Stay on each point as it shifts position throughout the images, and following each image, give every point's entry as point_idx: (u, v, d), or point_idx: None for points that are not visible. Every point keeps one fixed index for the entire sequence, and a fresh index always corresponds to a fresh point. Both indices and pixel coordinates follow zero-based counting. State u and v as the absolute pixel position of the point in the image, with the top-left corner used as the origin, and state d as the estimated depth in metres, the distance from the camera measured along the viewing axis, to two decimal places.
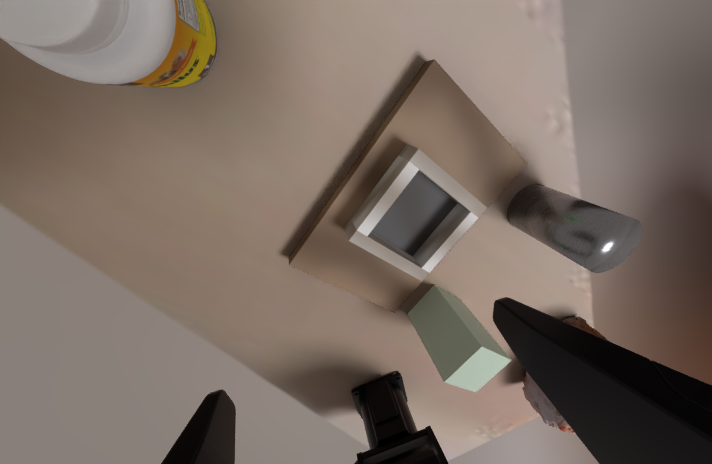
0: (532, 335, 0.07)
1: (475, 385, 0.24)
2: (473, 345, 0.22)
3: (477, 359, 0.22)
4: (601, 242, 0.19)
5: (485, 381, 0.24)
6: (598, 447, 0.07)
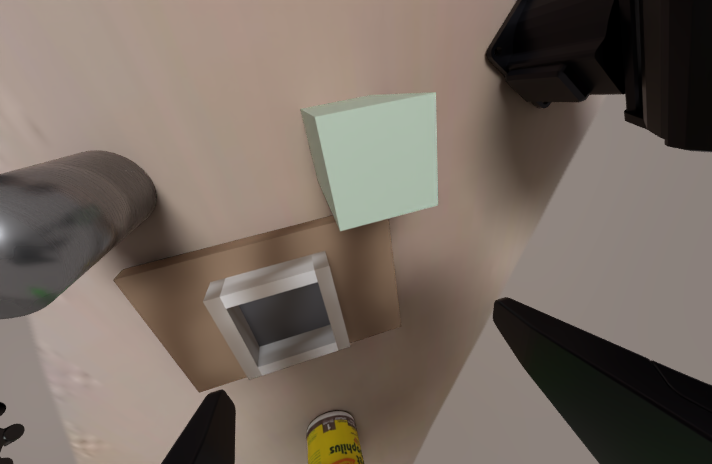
0: (532, 335, 0.07)
1: (418, 122, 0.10)
2: None
3: (365, 204, 0.11)
4: (21, 296, 0.09)
5: (398, 108, 0.10)
6: (598, 447, 0.07)
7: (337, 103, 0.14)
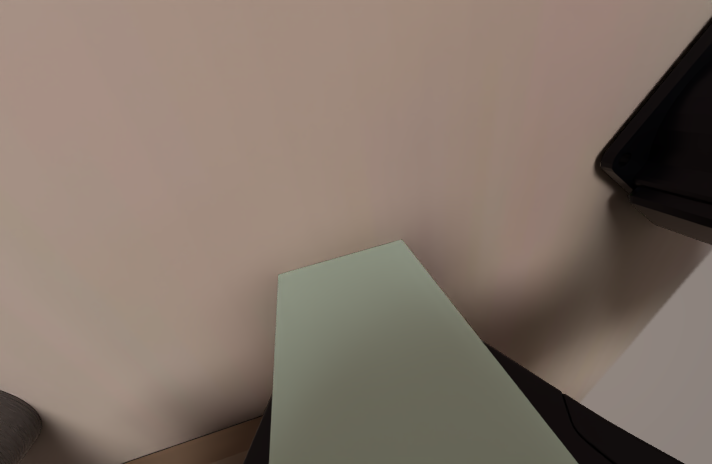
0: None
1: None
2: None
3: None
4: None
5: None
6: None
7: (343, 299, 0.08)
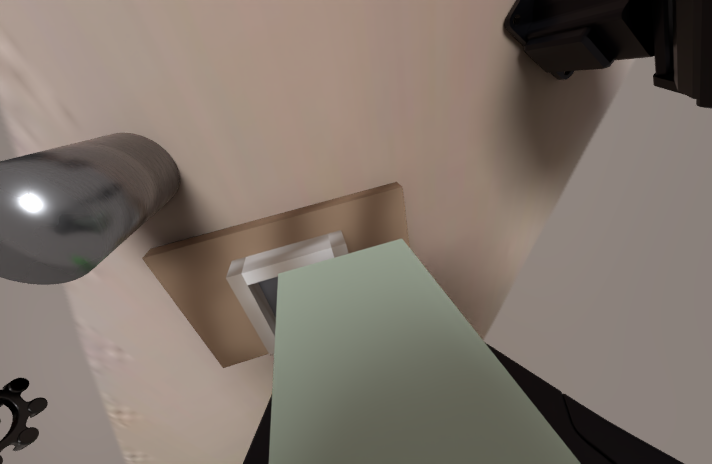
0: None
1: None
2: None
3: None
4: (66, 263, 0.10)
5: None
6: None
7: (343, 298, 0.08)
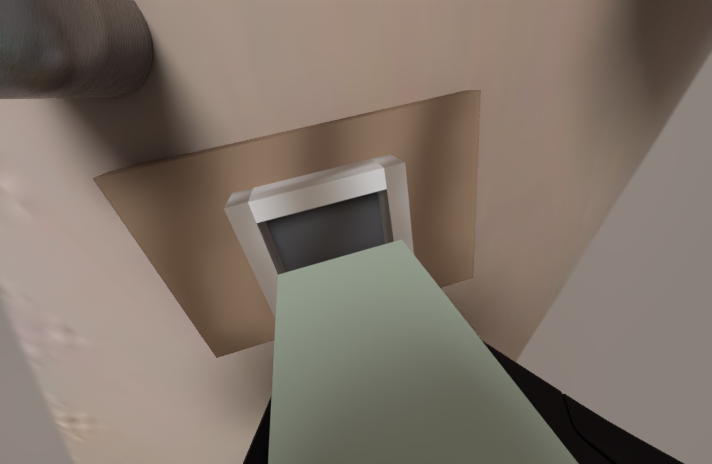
0: None
1: None
2: None
3: None
4: None
5: None
6: None
7: (342, 299, 0.08)
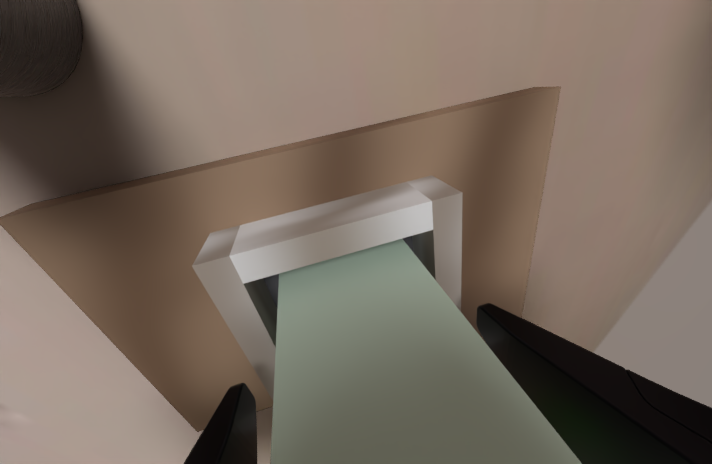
0: (512, 342, 0.07)
1: None
2: None
3: None
4: None
5: None
6: (576, 456, 0.07)
7: (339, 280, 0.08)
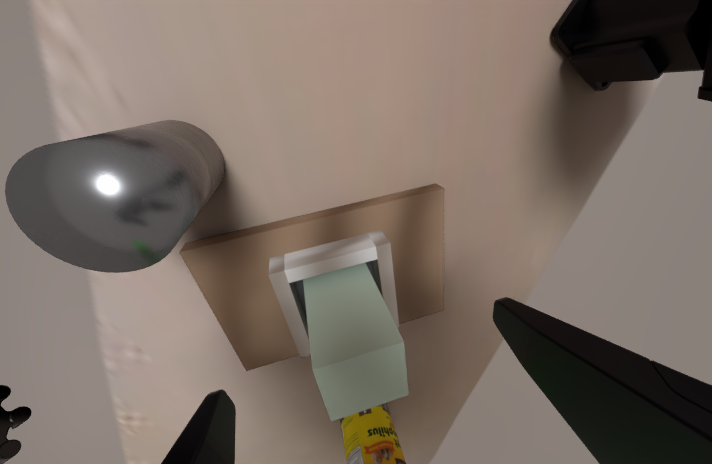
0: (532, 335, 0.07)
1: (391, 357, 0.13)
2: None
3: (350, 404, 0.14)
4: (139, 250, 0.09)
5: (375, 354, 0.13)
6: (598, 447, 0.07)
7: (332, 282, 0.18)
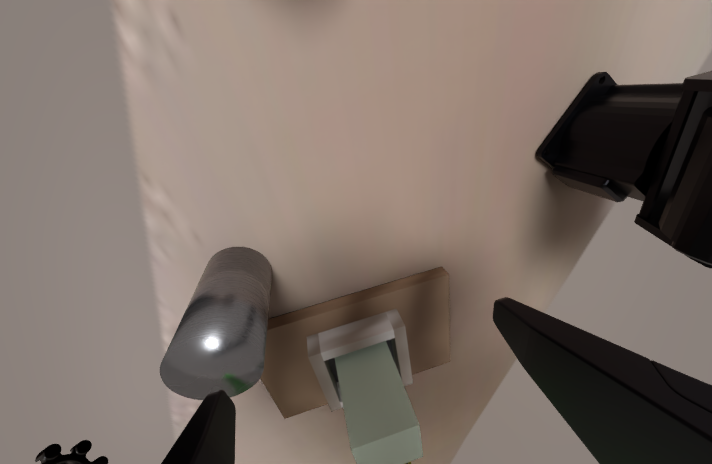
0: (532, 335, 0.07)
1: (409, 435, 0.17)
2: None
3: None
4: (235, 385, 0.14)
5: (397, 434, 0.17)
6: (598, 447, 0.07)
7: (358, 358, 0.22)
